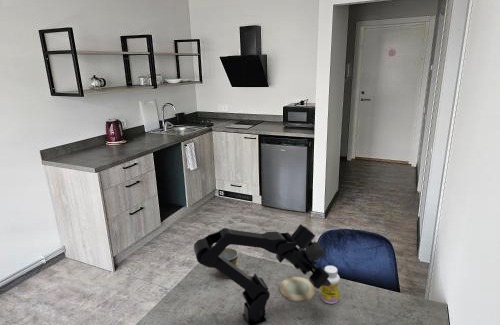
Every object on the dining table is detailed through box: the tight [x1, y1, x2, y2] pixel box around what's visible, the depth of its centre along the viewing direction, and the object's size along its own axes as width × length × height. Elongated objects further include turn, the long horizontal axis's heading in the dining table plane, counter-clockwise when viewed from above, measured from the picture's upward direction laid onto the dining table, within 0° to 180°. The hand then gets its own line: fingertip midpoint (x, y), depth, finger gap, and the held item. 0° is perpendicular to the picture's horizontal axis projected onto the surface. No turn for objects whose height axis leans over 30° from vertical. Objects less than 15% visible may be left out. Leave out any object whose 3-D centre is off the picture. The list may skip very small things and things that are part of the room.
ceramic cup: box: [218, 247, 239, 280], centre depth 142 cm, size 13×10×10 cm
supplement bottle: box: [320, 265, 341, 305], centre depth 124 cm, size 7×7×13 cm
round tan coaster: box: [279, 276, 317, 303], centre depth 131 cm, size 14×14×1 cm
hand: (323, 277), depth 122 cm, fingers open, 9 cm apart
